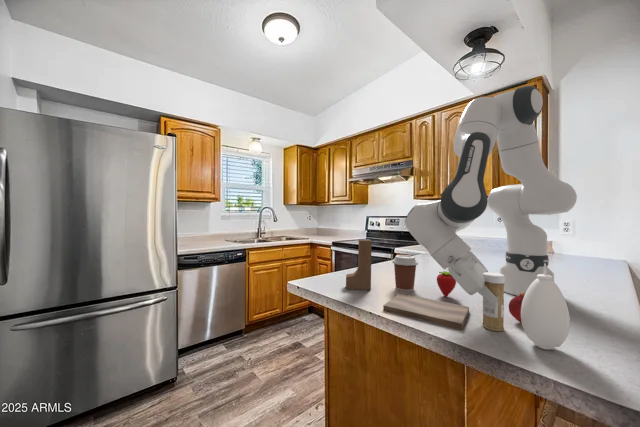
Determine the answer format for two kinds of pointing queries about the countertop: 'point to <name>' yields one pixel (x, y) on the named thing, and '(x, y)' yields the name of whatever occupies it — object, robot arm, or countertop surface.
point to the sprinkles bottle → (494, 312)
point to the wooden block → (361, 268)
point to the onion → (516, 306)
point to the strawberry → (446, 282)
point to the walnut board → (428, 310)
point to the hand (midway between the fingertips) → (496, 298)
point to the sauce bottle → (545, 313)
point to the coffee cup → (404, 272)
